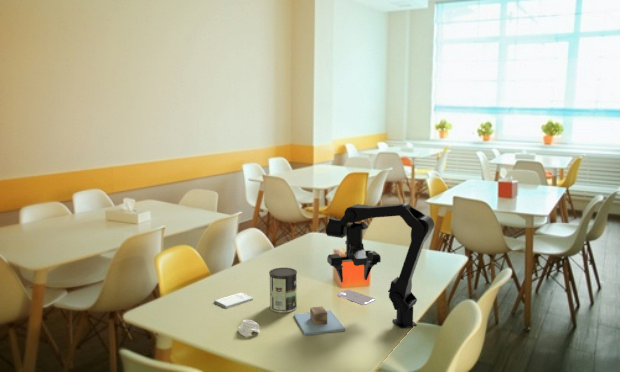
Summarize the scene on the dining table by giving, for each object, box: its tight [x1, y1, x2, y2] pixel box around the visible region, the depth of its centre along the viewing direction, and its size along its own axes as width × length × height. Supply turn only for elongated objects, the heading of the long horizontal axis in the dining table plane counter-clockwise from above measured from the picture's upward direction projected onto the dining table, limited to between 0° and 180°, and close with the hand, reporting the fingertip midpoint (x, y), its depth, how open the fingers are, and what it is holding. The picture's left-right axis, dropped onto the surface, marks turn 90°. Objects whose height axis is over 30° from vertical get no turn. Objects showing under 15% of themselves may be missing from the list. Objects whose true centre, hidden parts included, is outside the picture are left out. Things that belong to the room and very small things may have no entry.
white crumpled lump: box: [237, 319, 261, 338], centre depth 175 cm, size 8×7×5 cm
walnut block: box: [309, 306, 327, 325], centre depth 182 cm, size 4×6×4 cm
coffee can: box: [268, 267, 298, 314], centre depth 195 cm, size 10×10×14 cm
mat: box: [293, 310, 346, 336], centre depth 182 cm, size 16×14×1 cm
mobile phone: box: [336, 289, 376, 306], centre depth 206 cm, size 8×1×15 cm
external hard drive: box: [213, 292, 254, 309], centre depth 202 cm, size 2×8×12 cm
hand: (353, 281), depth 190 cm, fingers open, 9 cm apart
